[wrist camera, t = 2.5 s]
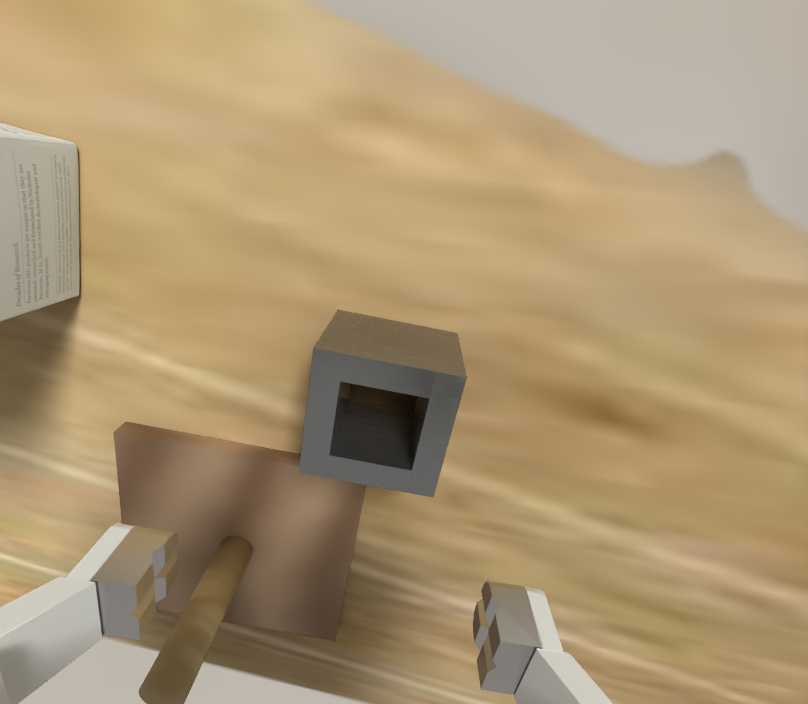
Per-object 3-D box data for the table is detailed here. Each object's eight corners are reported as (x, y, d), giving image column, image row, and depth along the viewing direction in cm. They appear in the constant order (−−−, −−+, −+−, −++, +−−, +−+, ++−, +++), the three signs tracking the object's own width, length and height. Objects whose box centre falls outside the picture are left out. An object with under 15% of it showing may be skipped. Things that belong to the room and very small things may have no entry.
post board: (369, 467, 24) (340, 618, 16) (338, 626, 30) (304, 801, 21) (125, 422, 24) (-34, 552, 16) (138, 591, 29) (25, 756, 21)
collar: (457, 333, 21) (466, 377, 16) (431, 433, 23) (433, 497, 19) (338, 309, 21) (313, 347, 16) (323, 413, 23) (298, 472, 18)
